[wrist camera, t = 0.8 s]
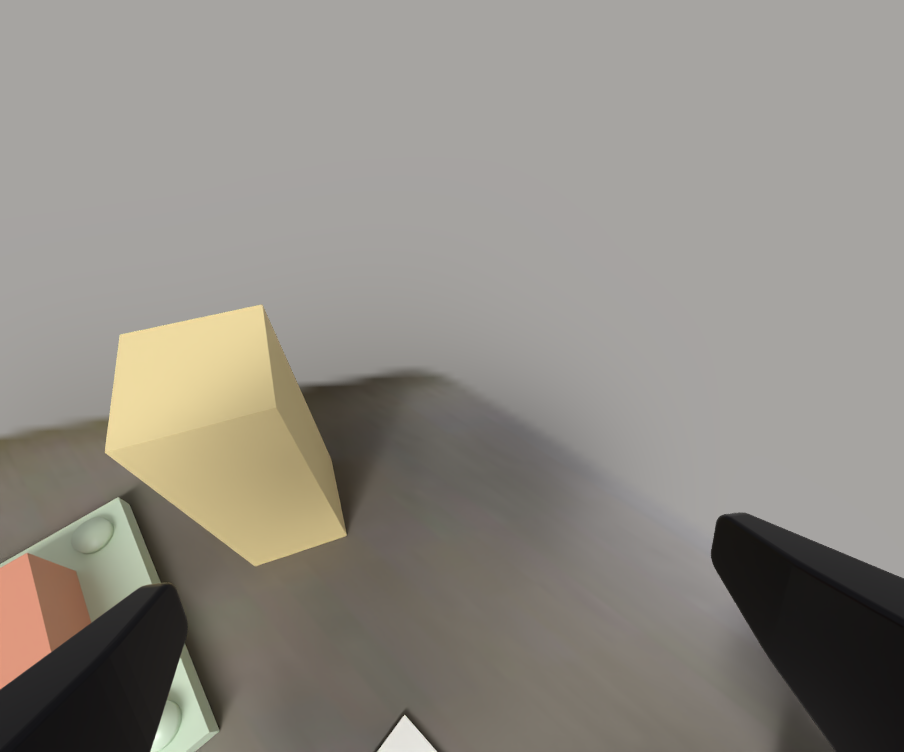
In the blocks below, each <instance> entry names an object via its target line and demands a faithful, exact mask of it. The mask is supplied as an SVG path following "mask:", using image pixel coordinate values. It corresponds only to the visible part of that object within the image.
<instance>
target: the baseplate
mask: <svg viewBox="0 0 904 752" xmlns="http://www.w3.org/2000/svg"><path fill="white" fill-rule="evenodd" d="M157 583H161V582H160V580H159V577H158V575H157V572H156V570H155V567H154V565H153V562H152V560H151V557H150V555H149V552H148V550H147V547H146V545H145V542H144V539H143V537H142V534H141V532H140V529H139V527H138V524H137V522H136V519H135V517H134V514H133V512H132V509H131V507H130V504H128V503H127V502H125V501H124V500H122V499H120V498H119V497H118V498H116V499H114V500H113V501H111V502H109V503H107V504H105V505H104V506H102V507H100V508H98V509H97V510H95V511H93V512H91V513H90V514H88V515H86V516H84V517H83V518H81V519H79V520H77V521H75V522H74V523H72V524H70V525H68V526H67V527H65V528H63V529H61V530H60V531H58V532H56V533H54V534H53V535H51V536H49V537H47V538H45V539H44V540H42V541H40V542H38V543H37V544H35V545H33V546H31V547H30V548H28V549H26V550H24V551H23V552H21V553H19V554H17V555H15V556H14V557H12V558H10V559H8V560H7V561H5V562H3V563H1V564H0V689H1V688H3V687H4V686H6V685H7V684H8V683H10V682H11V681H12V680H14V679H15V678H16V677H18V676H19V675H21V674H22V673H23V672H25V671H26V670H27V669H29V668H30V667H31V666H33V665H34V664H36V663H37V662H38V661H40V660H41V659H42V658H44V657H45V656H46V655H48V654H49V653H51V652H52V651H53V650H55V649H56V648H57V647H59V646H60V645H61V644H63V643H64V642H66V641H67V640H68V639H70V638H71V637H72V636H74V635H75V634H76V633H78V632H79V631H81V630H82V629H83V628H85V627H86V626H87V625H89V624H90V623H91V622H93V621H94V620H96V619H97V618H98V617H100V616H101V615H102V614H104V613H105V612H106V611H108V610H109V609H111V608H112V607H113V606H115V605H116V604H117V603H119V602H120V601H121V600H123V599H124V598H126V597H127V596H128V595H130V594H131V593H132V592H134V591H135V590H137V589H138V588H140V587H141V586H144V585H148V584H157ZM219 731H220V730H219V728H218V725H217V723H216V720H215V718H214V715H213V713H212V710H211V708H210V705H209V703H208V700H207V698H206V695H205V693H204V690H203V688H202V685H201V683H200V680H199V678H198V675H197V673H196V670H195V668H194V665H193V663H192V660H191V658H190V655H189V653H188V650H187V648H186V645H185V643H184V647H183V650H182V653H181V656H180V660H179V663H178V666H177V669H176V672H175V676H174V679H173V682H172V685H171V689H170V692H169V695H168V698H167V701H166V705H165V708H164V711H163V714H162V717H161V721H160V724H159V727H158V730H157V733H156V736H155V739H154V742H153V745H152V748H151V751H150V752H195V751H196V750H198V749H199V748H200V747H201V746H202V745H204V744H205V743H206V742H207V741H208V740H210V739H211V738H212V737H213V736H214V735H216V734H217V733H218V732H219Z"/></svg>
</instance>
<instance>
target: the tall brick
mask: <svg viewBox="0 0 904 752" xmlns="http://www.w3.org/2000/svg"><path fill="white" fill-rule="evenodd" d="M105 453H106V454H107V455H109V456H110V457H111V458H113V459H114V460H115V461H117V462H118V463H119V464H121V465H122V466H123V467H125V468H126V469H127V470H129V471H130V472H131V473H132V474H134V475H135V476H136V477H138V478H139V479H140V480H142V481H143V482H144V483H146V484H147V485H148V486H150V487H151V488H152V489H154V490H155V491H156V492H158V493H159V494H160V495H161V496H163V497H164V498H165V499H167V500H168V501H169V502H171V503H172V504H173V505H175V506H176V507H177V508H179V509H180V510H181V511H183V512H184V513H185V514H187V515H188V516H189V517H191V518H192V519H193V520H194V521H196V522H197V523H198V524H200V525H201V526H202V527H204V528H205V529H206V530H208V531H209V532H210V533H212V534H213V535H214V536H216V537H217V538H218V539H220V540H221V541H222V542H224V543H225V544H226V545H227V546H229V547H230V548H231V549H233V550H234V551H235V552H237V553H238V554H239V555H241V556H242V557H243V558H245V559H246V560H247V561H249V562H250V563H251V564H253V565H254V566H258V565H261V564H264V563H267V562H270V561H273V560H276V559H279V558H282V557H285V556H288V555H291V554H294V553H297V552H300V551H303V550H306V549H309V548H312V547H315V546H318V545H321V544H324V543H327V542H330V541H333V540H336V539H339V538H342V537H345V536H347V533H346V528H345V523H344V519H343V514H342V509H341V504H340V499H339V494H338V489H337V484H336V480H335V475H334V470H333V465H332V460H331V457H330V455H329V453H328V451H327V448H326V446H325V444H324V442H323V439H322V437H321V435H320V433H319V430H318V428H317V426H316V424H315V422H314V419H313V417H312V415H311V413H310V410H309V408H308V406H307V404H306V401H305V399H304V397H303V395H302V392H301V390H300V388H299V386H298V383H297V381H296V379H295V377H294V374H293V372H292V370H291V368H290V365H289V363H288V361H287V359H286V357H285V355H284V352H283V350H282V347H281V345H280V343H279V341H278V339H277V336H276V334H275V332H274V330H273V327H272V325H271V323H270V321H269V319H268V316H267V314H266V312H265V309H264V307H263V305H257V306H253V307H248V308H243V309H238V310H234V311H229V312H224V313H220V314H215V315H210V316H206V317H201V318H196V319H191V320H187V321H182V322H177V323H173V324H168V325H163V326H159V327H154V328H149V329H145V330H140V331H135V332H130V333H126V334H121V335H120V339H119V346H118V354H117V361H116V369H115V377H114V385H113V392H112V400H111V408H110V416H109V424H108V431H107V439H106V447H105Z"/></svg>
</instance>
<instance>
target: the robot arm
mask: <svg viewBox="0 0 904 752" xmlns="http://www.w3.org/2000/svg"><path fill="white" fill-rule="evenodd" d="M711 559H712V563H713V565H714V567H715V569H716V571H717V573H718V574H719V576H720V578H721V580H722V581H723V583H724V585H725V586H726V588H727V590H728V591H729V593H730V595H731V596H732V598H733V600H734V601H735V603H736V605H737V606H738V608H739V610H740V611H741V613H742V615H743V616H744V618H745V620H746V621H747V623H748V625H749V626H750V628H751V630H752V631H753V633H754V635H755V636H756V638H757V640H758V641H759V643H760V645H761V646H762V648H763V649H764V651H765V653H766V654H767V656H768V657H769V659H770V660H771V662H772V663H773V665H774V666H775V667H776V669H777V670H778V672H779V673H780V675H781V676H782V677H783V679H784V680H785V682H786V683H787V684H788V686H789V687H790V689H791V690H792V691H793V693H794V694H795V696H796V697H797V698H798V700H799V701H800V703H801V704H802V705H803V707H804V708H805V710H806V711H807V712H808V714H809V715H810V717H811V718H812V719H813V721H814V722H815V724H816V725H817V726H818V728H819V729H820V731H821V732H822V733H823V735H824V736H825V738H826V739H827V740H828V742H829V743H830V744H831V746H832V747H833V749H834V750H835V751H836V752H904V578H901V577H899V576H896V575H894V574H892V573H889V572H887V571H884V570H882V569H880V568H877V567H875V566H872V565H870V564H868V563H865V562H863V561H860V560H858V559H856V558H853V557H851V556H848V555H846V554H844V553H841V552H839V551H836V550H834V549H832V548H829V547H827V546H824V545H822V544H819V543H817V542H815V541H812V540H810V539H807V538H805V537H803V536H800V535H798V534H795V533H793V532H791V531H788V530H786V529H783V528H781V527H779V526H776V525H774V524H771V523H769V522H766V521H764V520H762V519H759V518H757V517H754V516H752V515H750V514H747V513H732V514H724V515H722V516H720V517H719V518H718V519H717V522H716V527H715V532H714V538H713V543H712V549H711ZM187 628H188V626H187V619H186V616H185V613H184V610H183V607H182V604H181V601H180V598H179V595H178V593H177V590H176V588H175V586H174V585H173V584H172V583H168V582H165V583H157V584H148V585H144V586H141V587H140V588H138V589H137V590H135V591H134V592H132V593H131V594H130V595H128V596H127V597H126V598H124V599H123V600H121V601H120V602H119V603H117V604H116V605H115V606H113V607H112V608H111V609H109V610H108V611H106V612H105V613H104V614H102V615H101V616H100V617H98V618H97V619H96V620H94V621H93V622H91V623H90V624H89V625H87V626H86V627H85V628H83V629H82V630H81V631H79V632H78V633H76V634H75V635H74V636H72V637H71V638H70V639H68V640H67V641H66V642H64V643H63V644H61V645H60V646H59V647H57V648H56V649H55V650H53V651H52V652H51V653H49V654H48V655H46V656H45V657H44V658H42V659H41V660H40V661H38V662H37V663H36V664H34V665H33V666H31V667H30V668H29V669H27V670H26V671H25V672H23V673H22V674H21V675H19V676H18V677H16V678H15V679H14V680H12V681H11V682H10V683H8V684H7V685H6V686H4V687H3V688H1V689H0V752H150V751H151V748H152V745H153V742H154V739H155V736H156V733H157V730H158V727H159V724H160V721H161V717H162V714H163V711H164V708H165V705H166V701H167V698H168V695H169V692H170V689H171V685H172V682H173V679H174V676H175V672H176V669H177V666H178V663H179V660H180V656H181V653H182V650H183V647H184V643H185V640H186V636H187Z"/></svg>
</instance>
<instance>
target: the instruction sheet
mask: <svg viewBox="0 0 904 752" xmlns="http://www.w3.org/2000/svg"><path fill="white" fill-rule="evenodd" d="M377 752H437V751H436V750H435V749H434V748H433V746H432V745H431V744H430V743H429V742H428V741H427V739H426V738H425V737H424V736H423V735H422V734H421V733H420V731H419V730H418V729H417V728H416V727H415V726H414V725H413V723H412V722H411V721H410V720H409V719H408V718H407V717H406V715H404V716H403V717H402V719H401V720H400V722H399V723H398V724H397V726H396V727H395V728H394V730H393V731H392V732H391V734H390V735H389V736H388V738H387V739H386V741H385V742H384V743H383V745H382V746H381V747H380V749H379V750H378V751H377Z"/></svg>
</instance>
